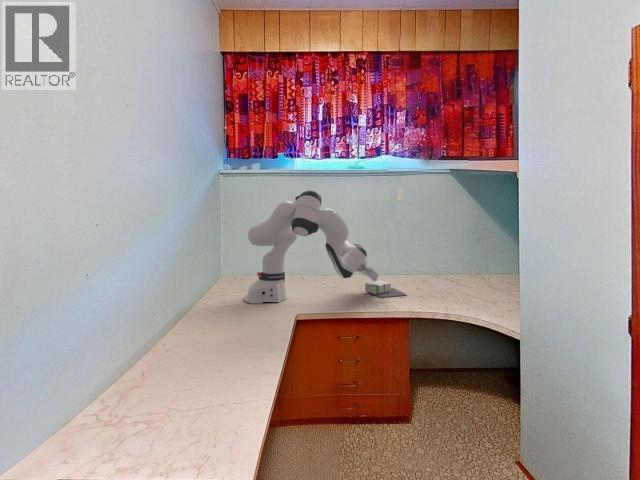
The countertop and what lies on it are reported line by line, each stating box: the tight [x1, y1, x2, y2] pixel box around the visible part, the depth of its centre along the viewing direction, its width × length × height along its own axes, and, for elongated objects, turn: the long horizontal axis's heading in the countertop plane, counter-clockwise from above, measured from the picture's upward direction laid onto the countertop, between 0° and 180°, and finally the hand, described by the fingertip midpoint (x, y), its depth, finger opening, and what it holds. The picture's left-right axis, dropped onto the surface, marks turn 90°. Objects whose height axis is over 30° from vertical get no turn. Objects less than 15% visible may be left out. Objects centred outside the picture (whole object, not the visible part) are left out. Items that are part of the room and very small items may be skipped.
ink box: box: [364, 279, 392, 295], centre depth 243 cm, size 9×5×12 cm
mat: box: [373, 287, 408, 299], centre depth 243 cm, size 16×16×1 cm
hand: (375, 280), depth 239 cm, fingers closed
